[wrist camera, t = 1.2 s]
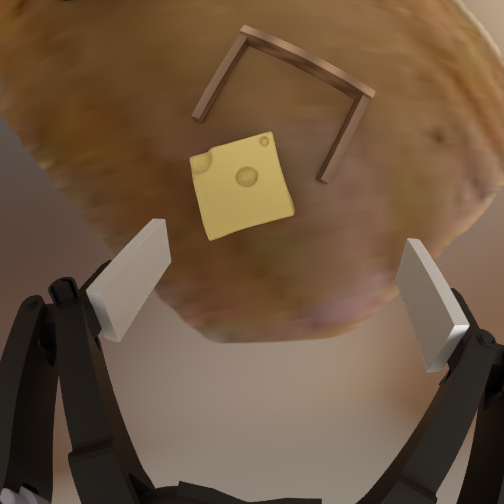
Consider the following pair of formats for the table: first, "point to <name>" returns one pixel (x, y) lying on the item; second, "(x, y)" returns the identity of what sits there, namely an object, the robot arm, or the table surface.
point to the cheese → (240, 185)
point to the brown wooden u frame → (305, 63)
